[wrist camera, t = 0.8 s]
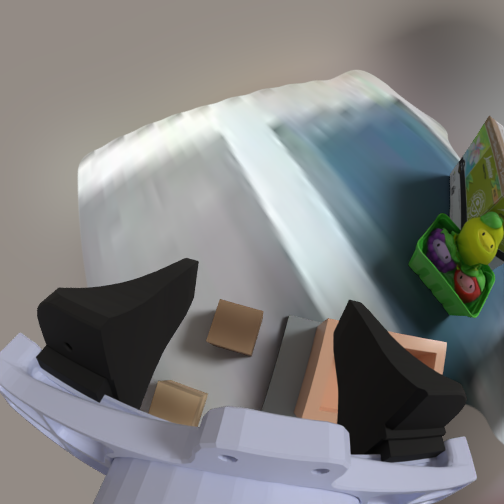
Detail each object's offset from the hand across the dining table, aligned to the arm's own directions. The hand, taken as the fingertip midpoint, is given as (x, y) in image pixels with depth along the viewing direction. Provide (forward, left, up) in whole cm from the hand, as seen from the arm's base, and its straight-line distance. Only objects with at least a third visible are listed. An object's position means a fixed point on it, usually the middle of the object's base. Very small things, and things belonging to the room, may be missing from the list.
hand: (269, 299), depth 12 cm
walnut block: (0, +3, -16) cm, 16 cm away
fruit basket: (+12, -20, -16) cm, 28 cm away
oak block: (-9, +6, -16) cm, 19 cm away
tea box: (+23, -27, -16) cm, 39 cm away
